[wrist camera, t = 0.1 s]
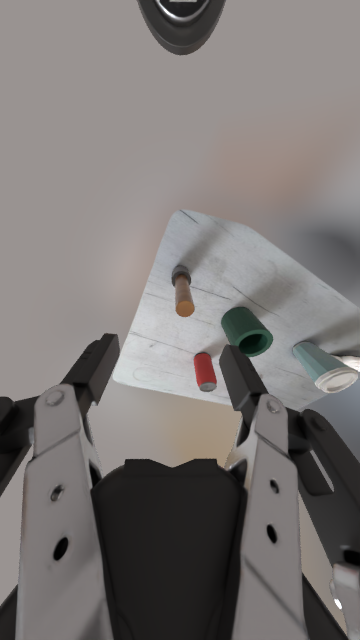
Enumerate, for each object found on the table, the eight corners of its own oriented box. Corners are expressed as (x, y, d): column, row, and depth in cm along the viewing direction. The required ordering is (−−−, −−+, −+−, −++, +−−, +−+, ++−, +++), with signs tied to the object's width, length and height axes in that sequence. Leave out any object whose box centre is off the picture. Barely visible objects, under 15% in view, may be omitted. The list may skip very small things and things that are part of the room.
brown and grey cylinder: (173, 264, 33) (171, 293, 18) (190, 266, 34) (203, 297, 19) (171, 281, 36) (168, 320, 21) (187, 283, 36) (196, 322, 21)
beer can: (193, 353, 52) (197, 382, 42) (210, 351, 51) (218, 380, 41) (193, 363, 55) (198, 393, 45) (209, 362, 55) (217, 392, 45)
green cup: (227, 305, 40) (242, 327, 31) (257, 308, 41) (280, 331, 32) (217, 330, 46) (228, 356, 37) (244, 333, 47) (261, 358, 38)
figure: (385, 354, 52) (339, 346, 51) (401, 371, 48) (351, 363, 47) (351, 364, 61) (311, 357, 60) (362, 379, 57) (319, 372, 56)
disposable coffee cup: (298, 335, 48) (341, 372, 36) (324, 338, 49) (374, 375, 37) (281, 355, 54) (312, 393, 42) (304, 357, 55) (342, 394, 43)
